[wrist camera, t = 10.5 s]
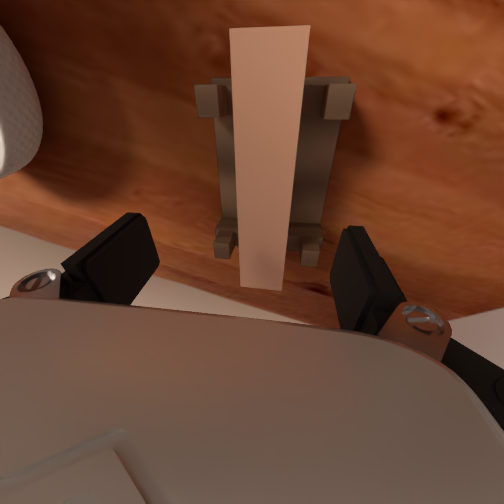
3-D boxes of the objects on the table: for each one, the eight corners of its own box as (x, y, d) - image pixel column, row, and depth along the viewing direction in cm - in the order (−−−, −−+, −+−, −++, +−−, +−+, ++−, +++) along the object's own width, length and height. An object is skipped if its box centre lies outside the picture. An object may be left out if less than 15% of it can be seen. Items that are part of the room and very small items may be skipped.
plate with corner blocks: (213, 78, 19) (183, 72, 14) (347, 77, 17) (369, 69, 12) (225, 231, 27) (210, 261, 22) (315, 238, 26) (321, 272, 21)
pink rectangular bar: (243, 43, 14) (229, 28, 11) (306, 41, 14) (310, 25, 11) (247, 261, 25) (240, 286, 22) (283, 264, 24) (281, 290, 21)
